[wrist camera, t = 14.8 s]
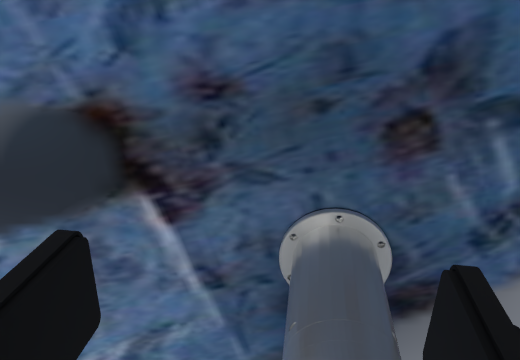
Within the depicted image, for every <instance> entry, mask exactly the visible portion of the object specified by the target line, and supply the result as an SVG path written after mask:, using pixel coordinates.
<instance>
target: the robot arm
mask: <svg viewBox="0 0 520 360" xmlns="http://www.w3.org/2000/svg"><path fill="white" fill-rule="evenodd" d="M339 215H340V217H337V216H339ZM293 234H295V235H293ZM380 241H381V242H380ZM279 264H280V269H281V272H282V274H283V277H284V278H285V280H286V281H287V283H288V284H289V286H290V287H289V297H288V307H287V317H286V327H285V337H284V347H283V358H282V360H401V356H400V352H399V348H398V344H397V339H396V335H395V330H394V326H393V322H392V317H391V313H390V309H389V304H388V300H387V296H386V291H385V287H384V283H385V282H386V280H387V278H388V276H389V274H390V270H391V267H392V253H391V248H390V245H389V242H388V239H387V237H386V236H385V234H384V232H383V231H382V230H381V229H380V227H379V226H378V225H377V224H376V223H374V222H373V221H372V220H370V219H369V218H368V217H366V216H364V215H362V214H360V213H357V212H354V211H350V210H345V209H337V208H336V209H323V210H319V211H315V212H312V213H310V214H307V215H305V216H303V217H302V218H300V219H299V220H297V221H296V222H295V223H294V224H293V225H292V226H291V227H290V228H289V229H288V231H287V232H286V234H285V235H284V237H283V240H282V242H281V246H280V251H279ZM100 318H101V313H100V307H99V301H98V296H97V290H96V284H95V278H94V272H93V266H92V261H91V255H90V249H89V243H88V240H87V238H85V237H83V235H82V234H81V232H79V231H69V230H57V231H55V232H54V233H53V234H51V235H50V236H49V237H48V238H47V239H46V240H45V241H44V242H42V243H41V244H40V245H39V246H38V247H37V248H36V249H34V250H33V251H32V252H31V253H30V254H29V255H28V256H27V257H25V258H24V259H23V260H22V261H21V262H20V263H19V264H18V265H16V266H15V267H14V268H13V269H12V270H11V271H10V272H9V273H7V274H6V275H5V276H4V277H3V278H2V279H1V280H0V360H76V359H77V358H78V356H79V355H80V353H81V352H82V350H83V349H84V347H85V346H86V344H87V343H88V341H89V340H90V338H91V337H92V335H93V334H94V332H95V331H96V329H97V328H98V326H99V323H100ZM423 360H520V328H519V327H517V326H515V325H513V324H512V322H511V320H510V319H509V317H508V315H507V314H506V312H505V310H504V309H503V307H502V305H501V304H500V302H499V300H498V299H497V297H496V295H495V293H494V292H493V290H492V288H491V287H490V285H489V283H488V282H487V280H486V278H485V277H484V275H483V273H482V272H481V270H480V269H479V268H478V267H473V266H462V265H452V266H451V268H450V270H444V271H443V272H442V275H441V279H440V283H439V287H438V292H437V296H436V300H435V304H434V308H433V312H432V316H431V321H430V325H429V329H428V333H427V337H426V342H425V345H424V350H423Z"/></svg>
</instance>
